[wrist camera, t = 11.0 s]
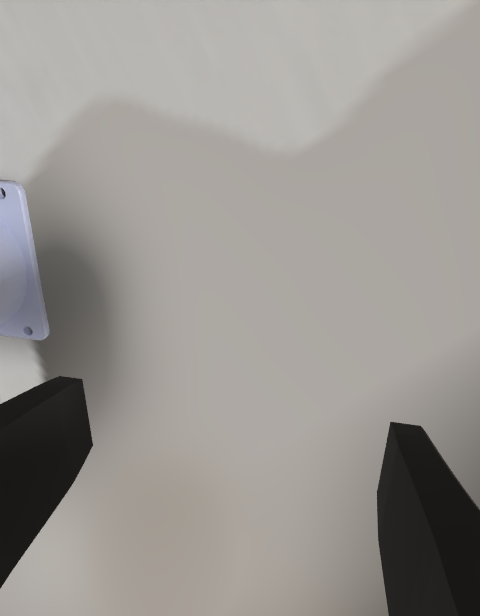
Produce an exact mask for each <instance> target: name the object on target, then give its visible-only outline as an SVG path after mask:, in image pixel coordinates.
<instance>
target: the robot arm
mask: <svg viewBox="0 0 480 616" xmlns="http://www.w3.org/2000/svg"><path fill="white" fill-rule="evenodd" d="M1 188H2V189H3V190H4V191H5V193H6V197H5V196H4V195H3V194H2V192H1ZM28 327H30V328H31V329H32V331H33V332H32V331H30V330H29V328H28ZM0 335H3V336H11V337H18V338H26V339H34V340H43V339H44V338H46V337H47V336H48V335H49V325H48V319H47V313H46V308H45V302H44V296H43V291H42V285H41V280H40V274H39V269H38V263H37V257H36V251H35V246H34V240H33V235H32V229H31V223H30V218H29V212H28V206H27V201H26V195H25V191H24V189H23V187H22V186H21V185H20V184H19V183H17V182H14V181H1V180H0ZM92 446H93V443H92V437H91V431H90V425H89V419H88V412H87V406H86V400H85V394H84V388H83V381H82V379H76V378H69V377H62V376H59V377H57V378H54V379H51V380H50V381H47V382H45V383H42V384H40V385H38V386H36V387H34V388H32V389H30V390H28V391H26V392H24V393H22V394H20V395H18V396H16V397H14V398H12V399H10V400H8V401H6V402H4V403H2V404H0V588H1V587H2V585H3V584H4V582H5V581H6V579H7V578H8V576H9V574H10V573H11V571H12V570H13V568H14V567H15V566H16V564H17V563H18V561H19V560H20V559H21V557H22V556H23V554H24V553H25V551H26V550H27V549H28V547H29V546H30V544H31V543H32V542H33V540H34V539H35V537H36V536H37V534H38V533H39V532H40V530H41V529H42V527H43V526H44V525H45V523H46V521H47V520H48V519H49V517H50V516H51V514H52V513H53V512H54V510H55V509H56V507H57V506H58V505H59V503H60V502H61V500H62V499H63V497H64V496H65V494H66V493H67V491H68V490H69V488H70V487H71V485H72V484H73V482H74V481H75V479H76V477H77V475H78V473H79V471H80V469H81V468H82V466H83V464H84V462H85V460H86V458H87V456H88V454H89V452H90V450H91V448H92ZM377 507H378V508H377V512H378V540H379V548H380V555H381V562H382V570H383V577H384V584H385V591H386V598H387V605H388V612H389V616H480V510H479V508H478V507H477V506H476V504H475V503H474V502H473V500H472V499H471V497H470V496H469V495H468V493H467V492H466V491H465V490H464V488H463V487H462V485H461V484H460V482H459V481H458V480H457V478H456V477H455V475H454V474H453V472H452V471H451V470H450V468H449V467H448V465H447V464H446V462H445V461H444V459H443V458H442V456H441V455H440V454H439V452H438V450H437V449H436V447H435V446H434V444H433V443H432V441H431V440H430V438H429V437H428V435H427V434H426V432H425V431H424V429H423V428H422V427H421V426H416V425H410V424H402V423H394V422H390V428H389V433H388V438H387V443H386V448H385V454H384V459H383V464H382V469H381V475H380V480H379V485H378V490H377Z"/></svg>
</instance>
